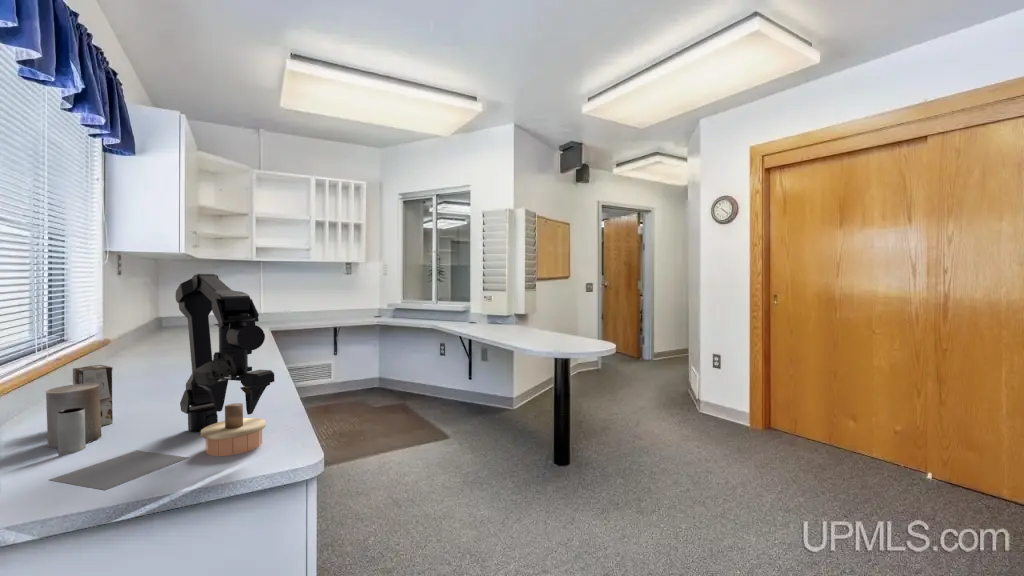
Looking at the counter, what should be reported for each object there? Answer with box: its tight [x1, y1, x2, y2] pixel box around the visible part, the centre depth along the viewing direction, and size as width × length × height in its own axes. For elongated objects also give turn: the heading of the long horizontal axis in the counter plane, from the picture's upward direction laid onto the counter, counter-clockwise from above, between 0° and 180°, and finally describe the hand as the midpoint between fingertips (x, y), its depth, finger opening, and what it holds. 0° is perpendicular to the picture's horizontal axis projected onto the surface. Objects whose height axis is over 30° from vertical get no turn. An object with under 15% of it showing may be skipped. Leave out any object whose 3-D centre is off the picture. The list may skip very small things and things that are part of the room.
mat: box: [48, 449, 190, 491], centre depth 93 cm, size 16×16×1 cm
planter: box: [57, 408, 87, 457], centre depth 103 cm, size 4×4×10 cm
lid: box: [200, 402, 267, 440], centre depth 105 cm, size 13×13×6 cm
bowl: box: [205, 429, 263, 457], centre depth 105 cm, size 11×11×5 cm
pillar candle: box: [44, 382, 102, 449], centre depth 112 cm, size 10×10×15 cm
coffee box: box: [72, 364, 114, 427], centre depth 126 cm, size 9×6×16 cm
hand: (234, 412), depth 105 cm, fingers open, 9 cm apart
